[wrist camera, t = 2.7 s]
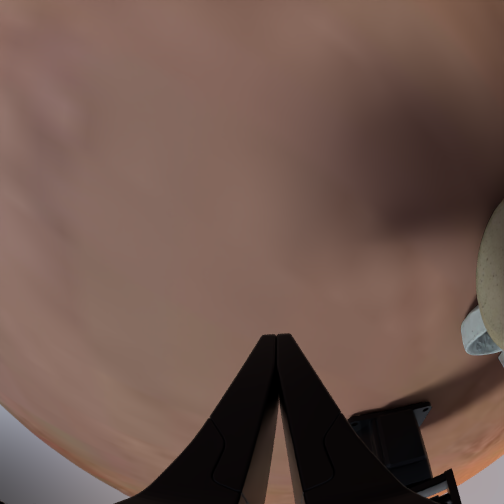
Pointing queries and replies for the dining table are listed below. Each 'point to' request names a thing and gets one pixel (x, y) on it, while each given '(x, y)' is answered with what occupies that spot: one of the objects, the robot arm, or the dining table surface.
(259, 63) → the dining table surface
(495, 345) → the ceramic mug
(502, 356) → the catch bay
